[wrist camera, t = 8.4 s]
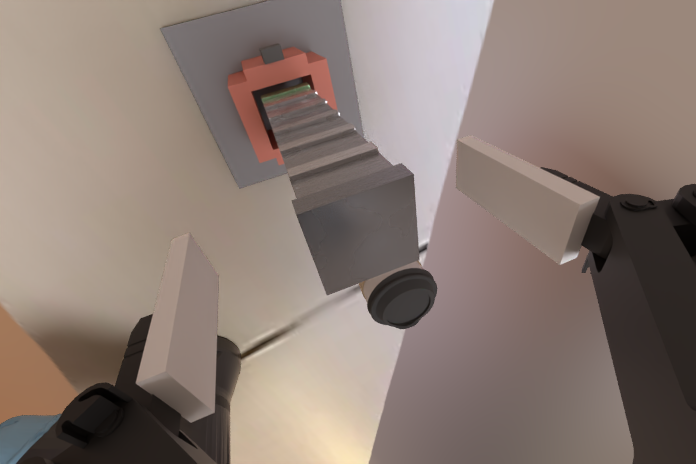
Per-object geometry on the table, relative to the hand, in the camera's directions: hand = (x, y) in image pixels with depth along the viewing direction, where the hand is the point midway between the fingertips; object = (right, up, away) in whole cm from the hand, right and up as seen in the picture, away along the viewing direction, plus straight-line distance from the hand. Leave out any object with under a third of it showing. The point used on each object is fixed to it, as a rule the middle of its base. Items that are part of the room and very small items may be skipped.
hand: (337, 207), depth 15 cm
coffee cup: (+3, -2, +33) cm, 33 cm away
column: (-4, +9, +12) cm, 16 cm away
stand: (-7, +13, +18) cm, 23 cm away
